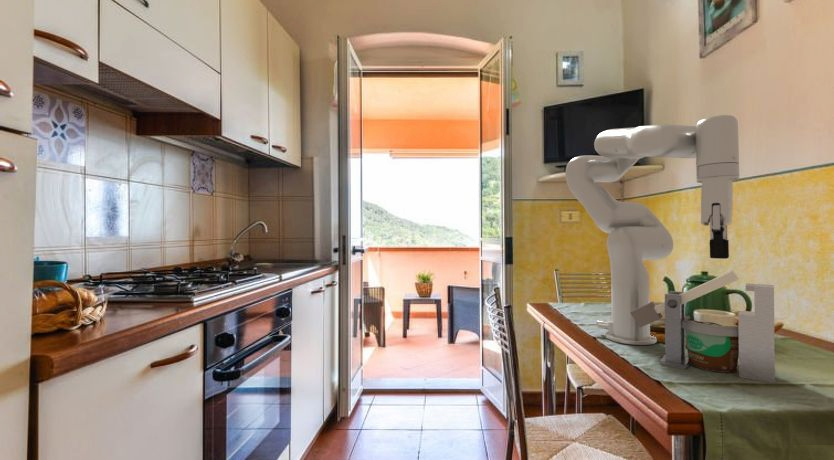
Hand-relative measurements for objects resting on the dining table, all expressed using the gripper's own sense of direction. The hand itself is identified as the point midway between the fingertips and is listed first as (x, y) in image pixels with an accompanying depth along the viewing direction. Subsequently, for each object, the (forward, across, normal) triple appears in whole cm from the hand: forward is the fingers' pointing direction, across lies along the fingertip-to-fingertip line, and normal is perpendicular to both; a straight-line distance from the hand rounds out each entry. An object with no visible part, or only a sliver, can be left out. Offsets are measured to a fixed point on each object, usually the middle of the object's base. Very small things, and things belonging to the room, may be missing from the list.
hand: (719, 258), depth 88 cm
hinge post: (+24, 0, -9) cm, 26 cm away
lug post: (+24, 0, +6) cm, 25 cm away
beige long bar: (+11, 0, -6) cm, 13 cm away
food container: (+24, 0, -3) cm, 25 cm away
